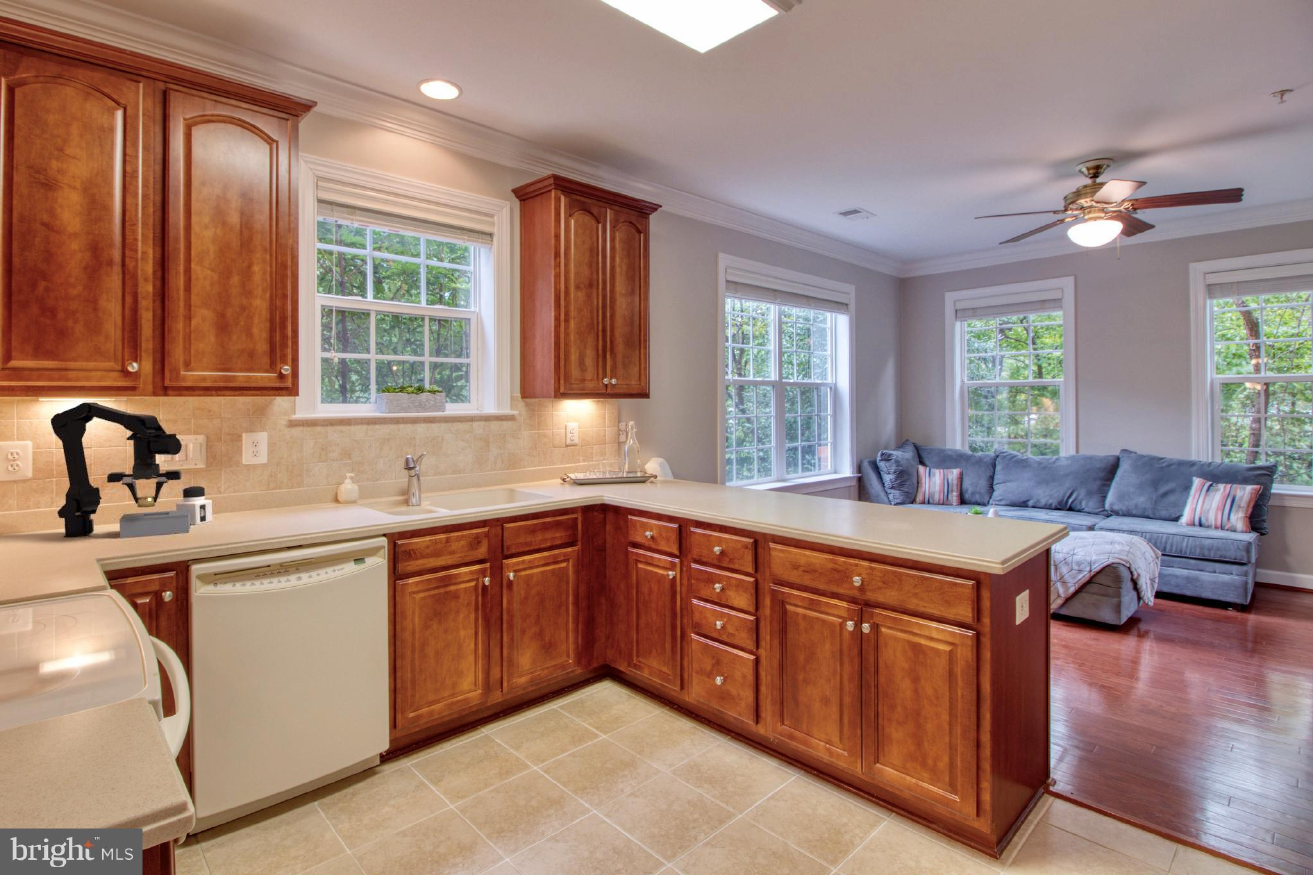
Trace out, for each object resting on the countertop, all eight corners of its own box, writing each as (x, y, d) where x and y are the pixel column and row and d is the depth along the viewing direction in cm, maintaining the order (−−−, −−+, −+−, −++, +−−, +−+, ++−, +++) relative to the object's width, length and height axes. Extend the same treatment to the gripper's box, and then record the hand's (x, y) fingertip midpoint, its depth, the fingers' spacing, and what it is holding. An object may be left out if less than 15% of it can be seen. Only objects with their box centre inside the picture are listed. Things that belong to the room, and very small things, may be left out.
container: (212, 521, 248) (211, 485, 248) (196, 525, 241) (195, 488, 240) (193, 520, 249) (191, 485, 249) (176, 524, 242) (174, 487, 241)
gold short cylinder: (136, 507, 218) (136, 498, 218) (138, 505, 222) (138, 496, 221) (154, 506, 220) (153, 497, 220) (155, 504, 224) (155, 495, 224)
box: (120, 538, 218) (119, 519, 218) (124, 531, 228) (124, 513, 228) (188, 532, 228) (188, 514, 227) (190, 526, 238) (189, 509, 237)
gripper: (103, 457, 208) (104, 508, 209) (177, 455, 218) (179, 504, 219) (109, 454, 218) (111, 503, 219) (181, 452, 227) (182, 499, 228)
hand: (146, 503), depth 221 cm, fingers closed on gold short cylinder, 4 cm apart
